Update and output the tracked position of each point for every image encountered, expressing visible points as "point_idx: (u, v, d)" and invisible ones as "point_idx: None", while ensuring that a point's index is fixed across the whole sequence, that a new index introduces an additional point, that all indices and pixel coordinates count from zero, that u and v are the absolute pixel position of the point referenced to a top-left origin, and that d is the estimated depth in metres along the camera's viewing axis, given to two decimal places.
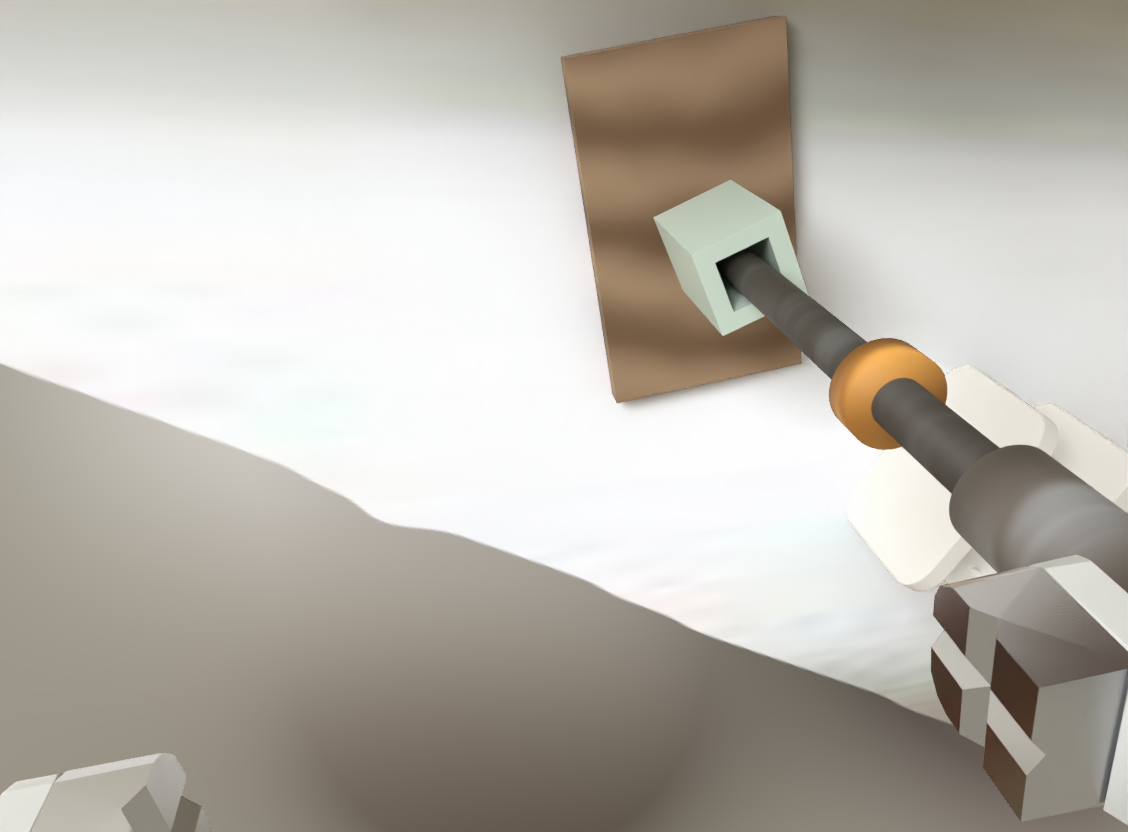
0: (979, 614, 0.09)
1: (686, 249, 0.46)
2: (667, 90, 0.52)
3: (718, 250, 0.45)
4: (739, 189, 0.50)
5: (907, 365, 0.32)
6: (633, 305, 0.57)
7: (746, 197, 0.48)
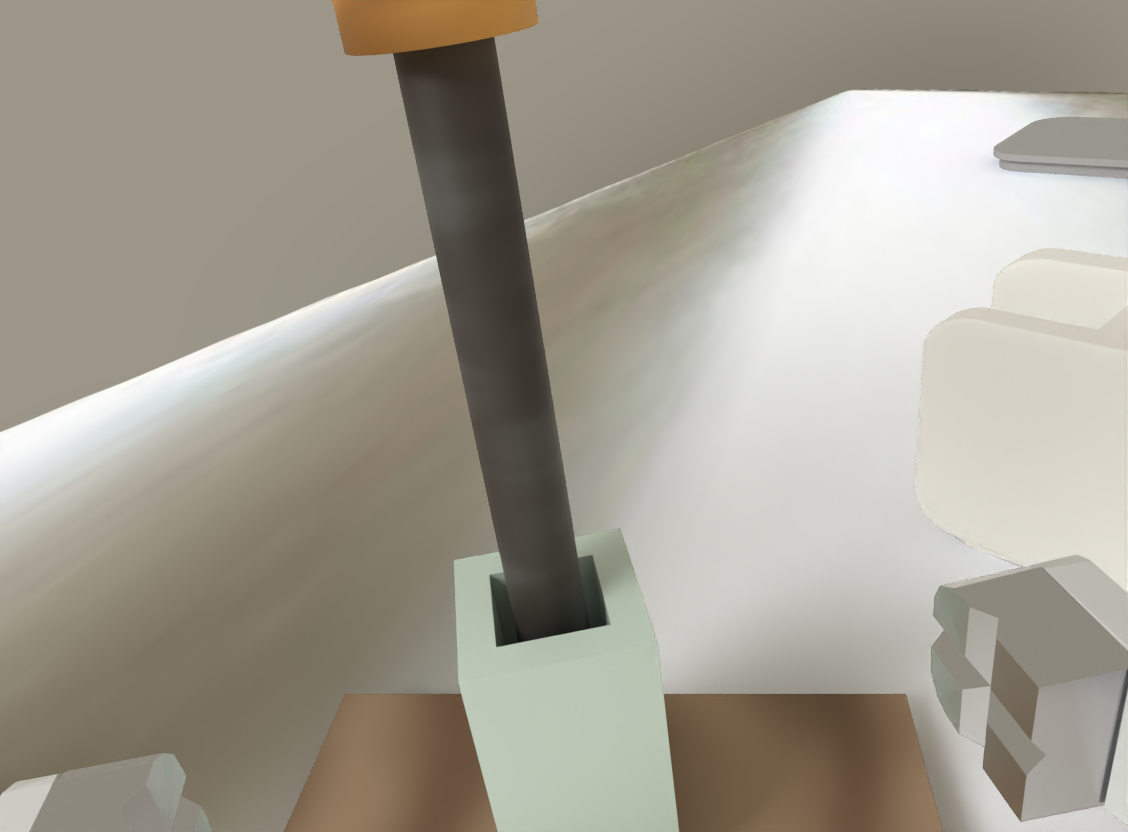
0: (979, 614, 0.09)
1: (466, 709, 0.22)
2: None
3: (474, 641, 0.23)
4: None
5: None
6: None
7: None
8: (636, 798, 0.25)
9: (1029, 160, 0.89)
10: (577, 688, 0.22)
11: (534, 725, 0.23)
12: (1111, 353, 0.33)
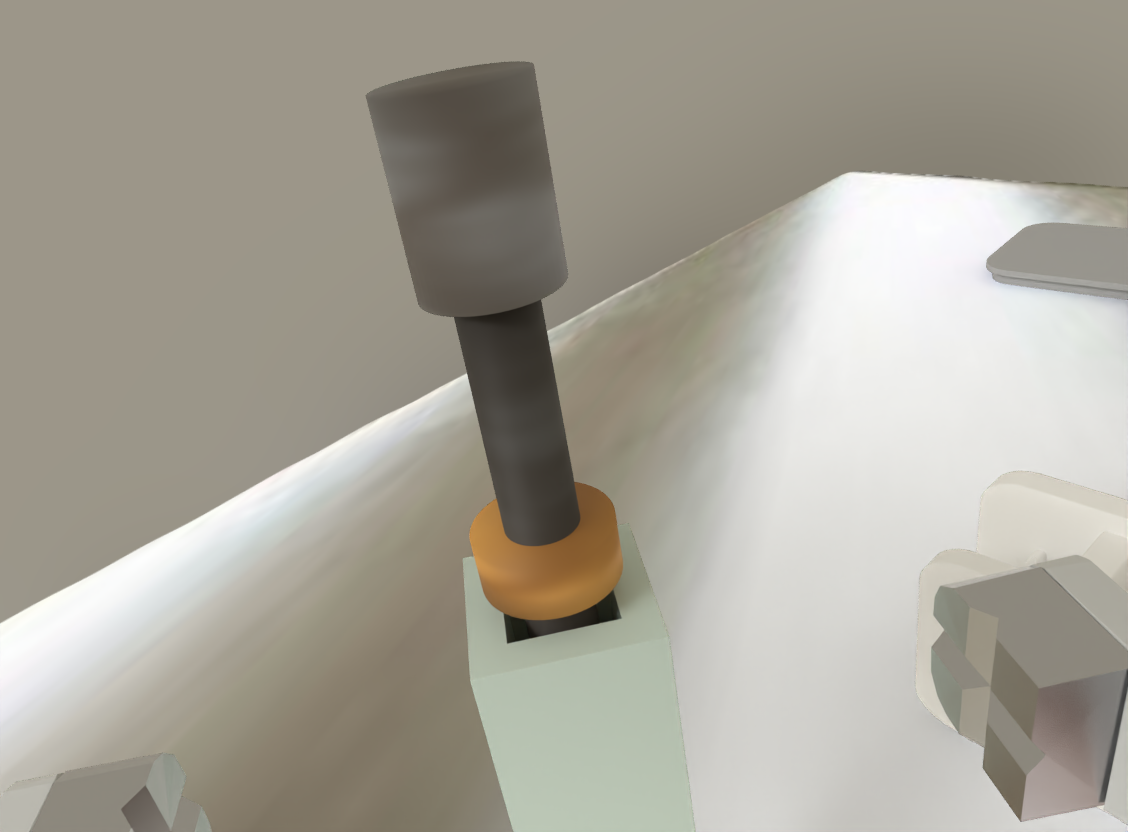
0: (979, 614, 0.09)
1: (478, 706, 0.22)
2: None
3: (484, 638, 0.23)
4: None
5: (491, 517, 0.23)
6: None
7: None
8: (651, 793, 0.24)
9: (1019, 276, 0.95)
10: (589, 683, 0.22)
11: (547, 721, 0.23)
12: None
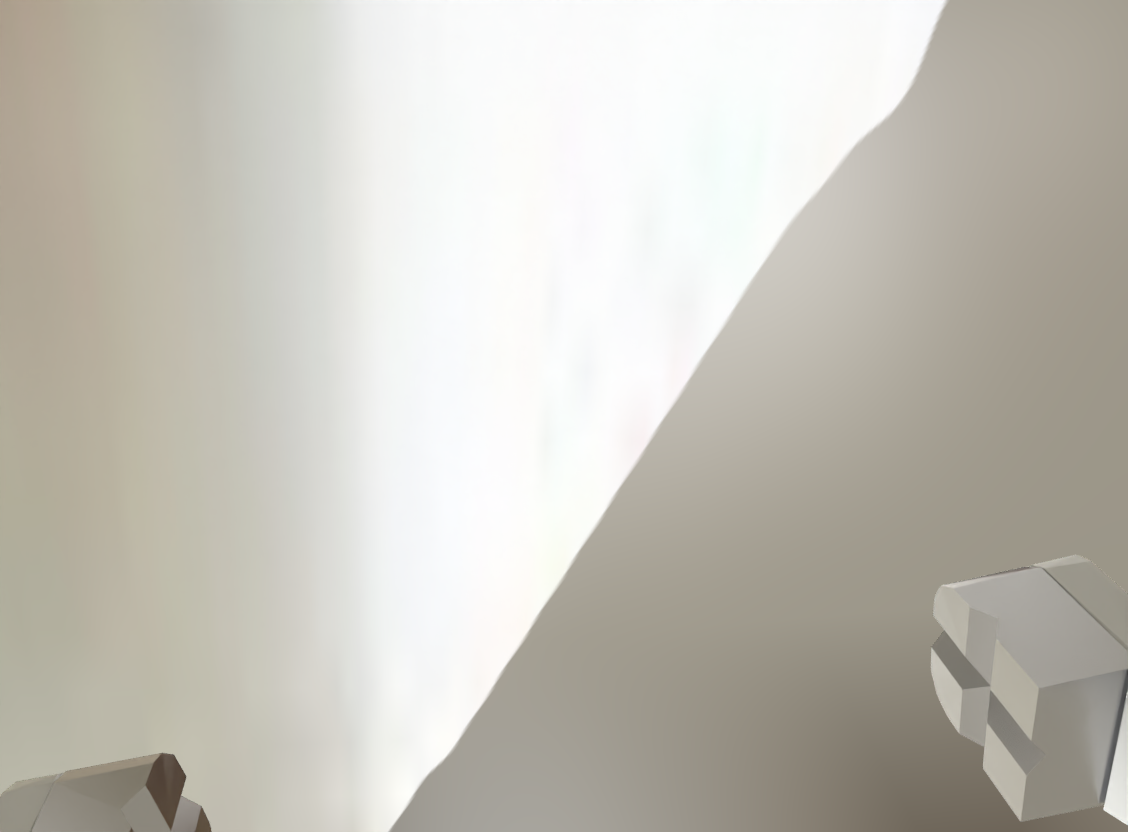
0: (979, 614, 0.09)
1: None
2: None
3: None
4: None
5: None
6: None
7: None
8: None
9: None
10: None
11: None
12: None
